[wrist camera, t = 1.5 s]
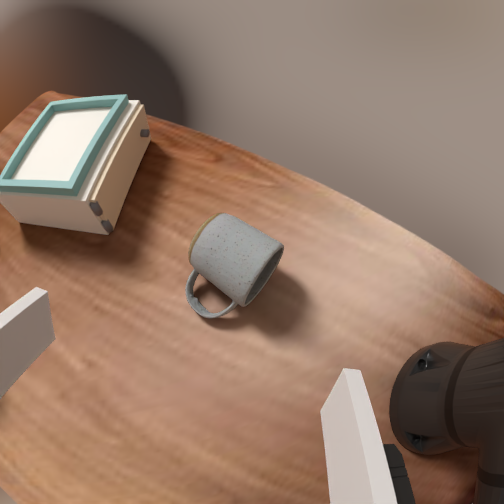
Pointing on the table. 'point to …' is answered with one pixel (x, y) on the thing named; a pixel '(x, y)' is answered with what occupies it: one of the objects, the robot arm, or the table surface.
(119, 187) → the cabinet
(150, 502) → the table surface
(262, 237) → the ceramic mug
